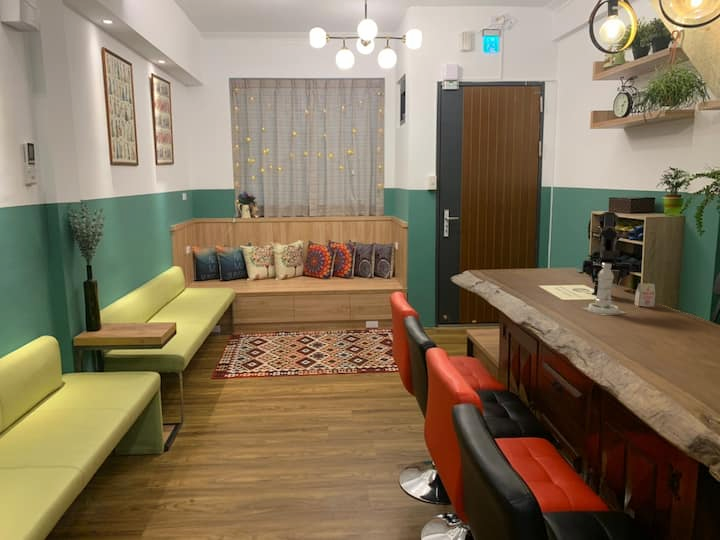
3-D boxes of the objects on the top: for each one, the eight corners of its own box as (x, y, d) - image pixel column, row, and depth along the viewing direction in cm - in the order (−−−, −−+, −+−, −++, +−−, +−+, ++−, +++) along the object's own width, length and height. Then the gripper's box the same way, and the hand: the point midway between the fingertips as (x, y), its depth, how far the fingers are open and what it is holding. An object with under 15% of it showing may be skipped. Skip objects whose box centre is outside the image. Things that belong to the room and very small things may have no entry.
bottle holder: (602, 306, 250) (602, 301, 250) (626, 313, 238) (627, 308, 238) (579, 308, 245) (579, 303, 245) (603, 315, 233) (603, 310, 233)
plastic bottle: (607, 308, 245) (611, 261, 242) (613, 312, 239) (618, 264, 235) (591, 307, 245) (596, 261, 242) (597, 311, 239) (602, 264, 235)
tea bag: (634, 304, 254) (636, 282, 252) (649, 305, 254) (652, 283, 252) (638, 306, 250) (640, 284, 248) (653, 307, 250) (656, 284, 248)
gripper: (585, 241, 245) (582, 271, 237) (633, 244, 238) (632, 275, 230) (583, 257, 254) (581, 286, 246) (630, 260, 247) (629, 290, 239)
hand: (605, 284), depth 240 cm, fingers open, 9 cm apart
